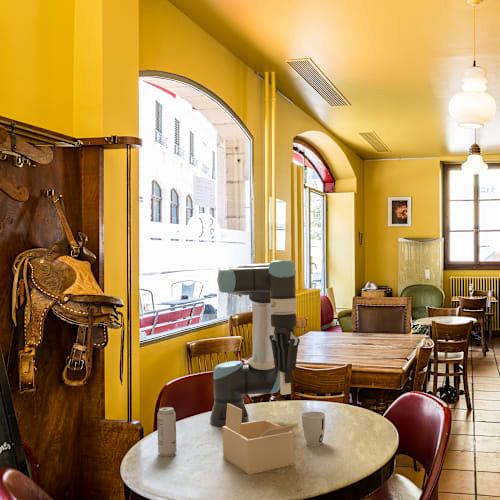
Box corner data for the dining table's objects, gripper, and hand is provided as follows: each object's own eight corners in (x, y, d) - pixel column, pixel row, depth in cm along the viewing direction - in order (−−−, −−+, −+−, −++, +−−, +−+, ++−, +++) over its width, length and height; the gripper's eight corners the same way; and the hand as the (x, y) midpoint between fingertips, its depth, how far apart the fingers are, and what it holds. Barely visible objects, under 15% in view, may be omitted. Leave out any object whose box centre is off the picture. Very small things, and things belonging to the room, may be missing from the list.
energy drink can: (177, 456, 196) (175, 410, 196) (158, 458, 195) (157, 411, 195) (176, 450, 202) (175, 406, 202) (158, 452, 201) (157, 407, 201)
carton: (222, 457, 194) (221, 426, 194) (267, 448, 202) (266, 418, 202) (248, 474, 177) (247, 440, 178) (296, 464, 185) (295, 431, 185)
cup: (325, 447, 201) (324, 417, 201) (301, 446, 203) (300, 417, 203) (326, 440, 209) (326, 411, 209) (303, 439, 211) (302, 411, 211)
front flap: (268, 428, 174) (268, 430, 174) (297, 423, 179) (298, 425, 179) (258, 435, 180) (259, 437, 180) (287, 430, 184) (287, 431, 184)
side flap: (228, 403, 193) (227, 403, 192) (242, 409, 184) (241, 409, 184) (226, 425, 192) (225, 425, 192) (240, 433, 183) (239, 433, 183)
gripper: (260, 312, 179) (263, 391, 179) (284, 315, 168) (287, 399, 167) (282, 310, 183) (284, 388, 182) (306, 313, 172) (309, 396, 171)
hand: (285, 393), depth 175 cm, fingers closed
